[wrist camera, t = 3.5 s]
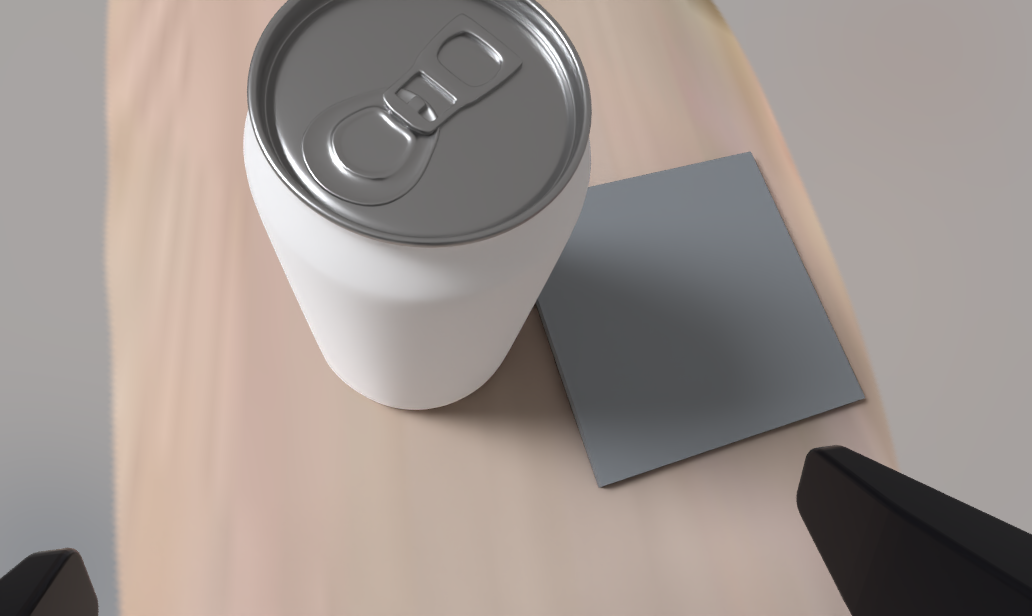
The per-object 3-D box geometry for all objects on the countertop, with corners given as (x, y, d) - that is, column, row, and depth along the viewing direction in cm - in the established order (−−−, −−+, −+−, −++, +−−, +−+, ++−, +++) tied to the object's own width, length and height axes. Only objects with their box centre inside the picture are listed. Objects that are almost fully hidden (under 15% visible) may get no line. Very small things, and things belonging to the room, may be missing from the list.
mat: (858, 400, 24) (864, 397, 23) (598, 487, 21) (602, 486, 21) (745, 156, 26) (750, 151, 26) (504, 210, 24) (505, 205, 24)
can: (272, 322, 21) (123, 83, 10) (410, 192, 24) (413, -121, 12) (424, 456, 21) (443, 359, 10) (551, 310, 23) (688, 92, 12)
